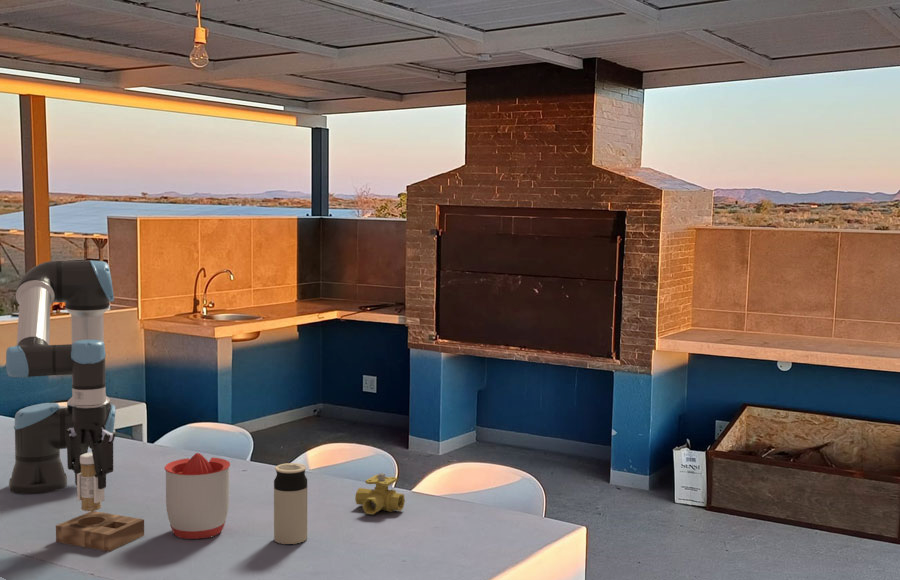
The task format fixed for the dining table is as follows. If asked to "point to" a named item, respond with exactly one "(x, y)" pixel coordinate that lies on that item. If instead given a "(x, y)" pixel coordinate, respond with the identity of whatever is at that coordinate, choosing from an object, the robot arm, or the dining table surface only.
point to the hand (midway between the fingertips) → (90, 500)
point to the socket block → (100, 530)
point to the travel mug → (290, 504)
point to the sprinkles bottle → (88, 483)
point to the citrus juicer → (197, 496)
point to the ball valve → (380, 495)
